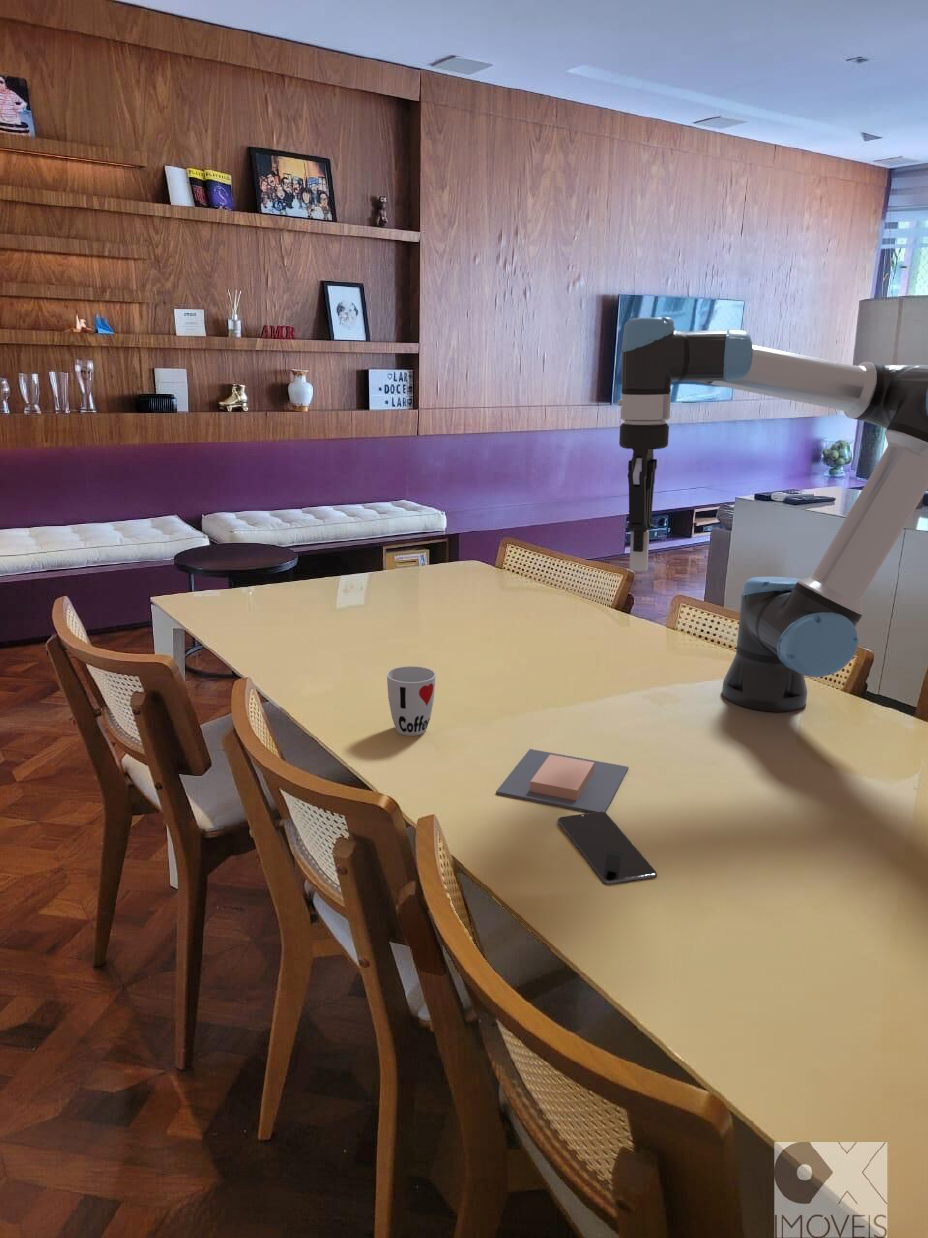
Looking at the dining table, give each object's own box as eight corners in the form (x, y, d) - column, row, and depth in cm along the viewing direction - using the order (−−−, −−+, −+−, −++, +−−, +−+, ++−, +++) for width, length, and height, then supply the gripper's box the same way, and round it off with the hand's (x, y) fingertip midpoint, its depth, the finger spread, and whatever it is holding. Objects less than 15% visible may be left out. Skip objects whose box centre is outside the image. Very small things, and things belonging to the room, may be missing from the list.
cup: (392, 741, 149) (391, 684, 146) (383, 722, 156) (382, 667, 153) (440, 737, 151) (440, 680, 148) (428, 718, 158) (429, 664, 156)
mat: (628, 769, 141) (628, 766, 141) (604, 815, 126) (604, 813, 126) (529, 751, 146) (529, 748, 146) (495, 793, 132) (496, 791, 132)
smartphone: (605, 882, 110) (556, 816, 124) (604, 890, 110) (555, 823, 125) (660, 874, 112) (605, 810, 126) (659, 881, 112) (604, 817, 127)
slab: (594, 762, 138) (577, 790, 129) (593, 772, 139) (576, 800, 130) (550, 754, 141) (530, 781, 132) (549, 763, 141) (529, 791, 132)
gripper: (627, 418, 148) (622, 559, 155) (612, 425, 137) (607, 577, 143) (674, 418, 146) (667, 562, 153) (663, 425, 134) (655, 580, 141)
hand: (638, 569), depth 148 cm, fingers closed
